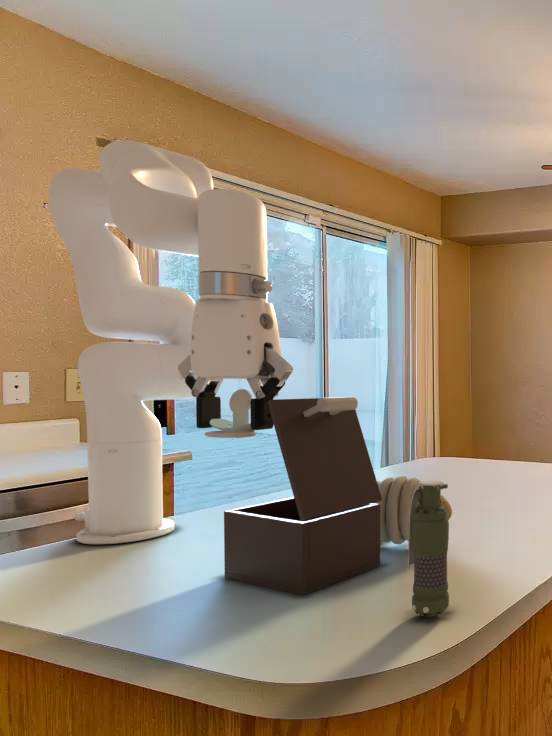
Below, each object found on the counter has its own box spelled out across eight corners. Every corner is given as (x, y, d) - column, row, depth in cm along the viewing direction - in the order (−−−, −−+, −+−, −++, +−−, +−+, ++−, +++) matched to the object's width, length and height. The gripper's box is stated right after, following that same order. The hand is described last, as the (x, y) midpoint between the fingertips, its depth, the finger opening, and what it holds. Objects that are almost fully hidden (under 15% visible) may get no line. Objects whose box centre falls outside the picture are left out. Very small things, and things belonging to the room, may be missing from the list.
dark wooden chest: (224, 577, 78) (223, 511, 77) (306, 552, 89) (306, 494, 89) (303, 595, 72) (302, 523, 71) (380, 565, 83) (380, 503, 83)
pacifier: (245, 441, 73) (277, 435, 79) (243, 391, 73) (275, 388, 79) (191, 440, 74) (227, 434, 80) (189, 390, 74) (225, 388, 80)
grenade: (456, 610, 68) (456, 480, 67) (434, 624, 64) (434, 486, 63) (424, 605, 69) (424, 478, 69) (401, 618, 65) (401, 483, 65)
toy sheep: (447, 554, 89) (448, 481, 88) (329, 557, 86) (329, 482, 86) (455, 536, 99) (455, 470, 99) (350, 538, 97) (350, 471, 97)
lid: (267, 401, 73) (295, 386, 71) (348, 398, 85) (374, 385, 83) (300, 521, 72) (330, 508, 69) (378, 501, 83) (406, 490, 81)
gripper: (313, 294, 78) (314, 428, 79) (201, 296, 81) (203, 424, 82) (271, 285, 71) (272, 433, 71) (150, 288, 74) (152, 428, 75)
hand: (235, 427), depth 77 cm, fingers closed on pacifier, 7 cm apart
